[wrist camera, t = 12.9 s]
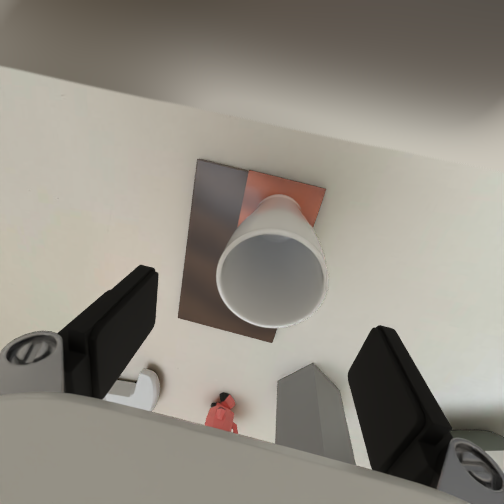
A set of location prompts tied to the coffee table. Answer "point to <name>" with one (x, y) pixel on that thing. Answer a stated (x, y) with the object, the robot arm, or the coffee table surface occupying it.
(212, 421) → the cat figurine
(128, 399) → the game controller
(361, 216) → the coffee table surface
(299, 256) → the drinking glass
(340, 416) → the perfume bottle
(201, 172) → the corner board
